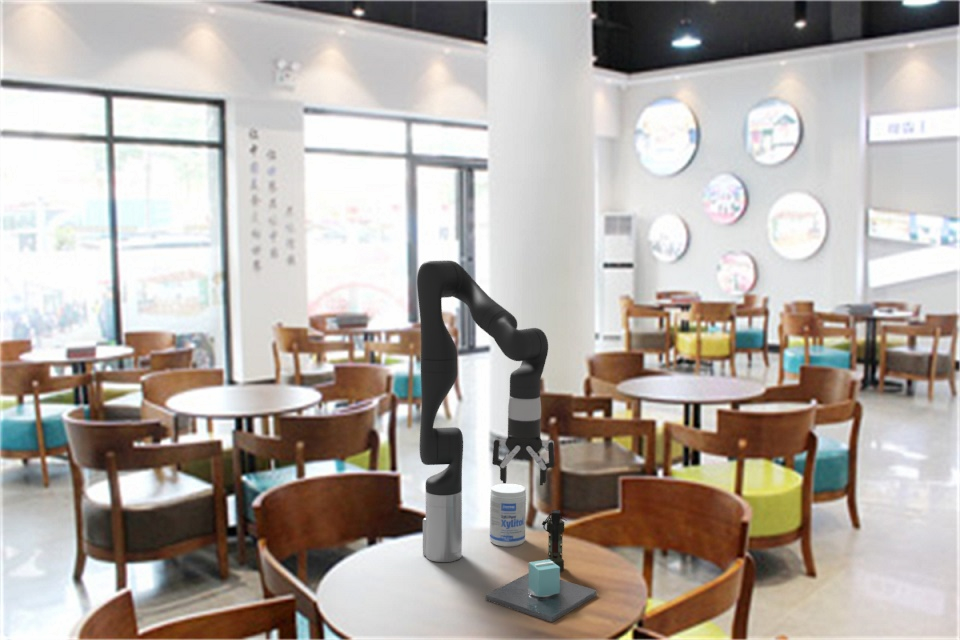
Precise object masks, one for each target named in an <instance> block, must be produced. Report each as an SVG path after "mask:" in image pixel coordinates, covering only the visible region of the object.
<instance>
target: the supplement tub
mask: <svg viewBox="0 0 960 640" xmlns="http://www.w3.org/2000/svg"><path fill="white" fill-rule="evenodd" d="M526 489H527V488H526V487H525V486H523V485H520V484H517V483H516V484H515V483H499V484H498V483H497V484H495V485H493V486H491V488H490V496H489V497H490V500H489V501H490V504H489V506H490V507H489V513H490V514H489V541H490V542H491V543H492V544H493V545H496V546H498V547H507V548H508V547H513V548H514V547H517V546H520V545H522V544H524V543H525V540H526V518H527V517H526V514H527V512H526V511H527V510H526V509H527V503H526V502H527V493H526Z"/></svg>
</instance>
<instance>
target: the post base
mask: <svg viewBox="0 0 960 640" xmlns="http://www.w3.org/2000/svg"><path fill="white" fill-rule="evenodd" d="M597 591H598V590H596V589H593V588H590V587H587V586H584V585H582V584H581V585H580V584H577V583H573V582H570V581H566V580H564V579H561V578H560V593H558V594H552V595H546V596H540V597H538V596H537V595H536V594H535V593H534V592H533V591H532V590H530V589H529V572H528V573H527V574H524V575H522V576H520V577H518V578H516V579H513V580H512V581H510V582H508V583H506V584H504V585H502V586H500V587H498V588H496V589H495V590H492V591H490V592H488V593H486V594H485V600H486V599H487V600H486V601H488V600H490V601H489V602H491V601H492V602H491V603H493V602H495V603H494V604H496V603H498V604H497V605H499V604H500V606H502V605H503V607H505V606H506V608H508V607H510V608H509V609H511V608H512V609H511V610H514V609H515V611H517V610H518V612H521V613H523V614H526V615H529V616H531V617H535V618H538V619H541V620H544V621H547V622H550V623H553V622H555V621H557V620H558V619H560V618H562V617H564V616H565V615H567V614H569V613H570V612H571V611H573V610H575V609H576V608H578V607H580V606H581V605H583V604H585V603H587V602H588V601H590V600H592V599H594V598H595V597H597V596H598V595H597V594H598V592H597Z"/></svg>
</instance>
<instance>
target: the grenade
mask: <svg viewBox="0 0 960 640" xmlns="http://www.w3.org/2000/svg"><path fill="white" fill-rule="evenodd" d="M561 519H562V520H561ZM565 521H566V522H568V521H567V519H565V518H563V512H562V511H561V510H560V509H551V513H549V514H548V516H547V517H546V519H545V520H543V521H542V523H541V525H542V526H543V527H542V528H543V530H544V531H545V532H547V533H548V541H547V542H548V545H547V546H548V549H547V551H548V554H547V556H548V557H547V559H546V560H548V559H550V560H551V561H553V562H554V563H555V564H556V565H558V566H559V567H560V573H561V572H564V570H565V568H564V567H565V560H564V559H563V534H564V532H565ZM545 527H546V528H545Z"/></svg>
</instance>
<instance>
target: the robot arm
mask: <svg viewBox="0 0 960 640" xmlns="http://www.w3.org/2000/svg"><path fill="white" fill-rule="evenodd" d="M416 286H417V287H416V289H417V298H418V299H417V300H418V308H419V310H418V311H419V318H420V319H419V320H420V385H421V386H420V387H421V388H420V392H421V404H420V405H421V409H420V411H421V412H420V425H419V426H420V429H419V431H420V432H419V457H420V461H421V462H422V464H423V465H426V466H434V465H435V466H437V465H447V467H446V468H445V469H444V470H442V471H440V472H439V473H436V474H434V475H431V476H429V477H427V479H426V481H425V517H424V518H423V519H422V555H423V556H424V557H425V558H426V559H427V560H429V561H432V562H437V563H450V562H451V563H452V562H455V561H458V560H459V559H461V558H462V556H463V555H462V554H463V551H462V550H463V549H462V548H463V476H462V475H463V459H464V456H463V455H464V437H463V432H462V430H461V429H460V428H459V427H455V426H454V427H434V423H435V419H436V417H437V414H438V411H439V410H440V407H441V405H443V404H442V403H443V402H444V400H445V398H447V396H448V394H449V393H450V392H451V390H452V388H453V387H454V385H455V383H456V381H457V377H458V350H457V346H456V344H455V342H454V341H455V340H454V339H453V338H452V336H451V334H450V332H449V329H448V327H447V326H446V324H445V321H444V318H443V309H442V308H443V307H442V300H443V298H444V299H445V298H455V299H456V300H459V301H461V302H462V303H464V304H465V305H466V306H467V307H468V309H469V311H470V313H469V314H470V315H471V317H472V320H473V321H474V323H475V324H476V325H477V326H478V327H479V328H480V329H481V330H482V331H484V332H485V333H487V334H488V336H490V337H492V338H493V341H495V343H496V345H497V346H498V348H499V349H500V351H501V352H502V353H503V355H504V356H505V357H507V358H508V359H510V360H512V361H514V362H521V363H520V366H519V368H517V369H515V370H514V371H512V372H511V373H510V377H509V399H508V406H507V407H508V408H507V414H508V415H507V438H506V439H503V438H500V437H498V436H497V437H495V438H494V440H493V450H492V464H493V465H494V466H498V467H499V469H500V470H499V480H500V481H501V482H502V484H507V480H508V477H507V475H508V471H507V470H508V464H509V463H510V462H511V461H512V460H513V458H515V459H516V460H522V459H524V460H531V459H533V460H534V462H535V463H536V464H538V466H539V467H540V469H539V486H543V485H544V484H546V482H547V470H548V469H553V468H554V467H555V462H556V461H555V458H556V457H555V441H554V440H553V439H549V440H547V441H546V440H545V441H544V440H542V437H541V433H542V431H541V430H542V429H541V425H542V423H541V422H542V403H541V379H542V376H543V375H542V374H543V372H544V369H545V365H546V362H547V357H548V353H549V342H548V336H546V334H545V332H544V331H543V330H542V329H540V328H537V327H530V328H529V327H528V328H525V329H524V328H523V329H518V320H517V318H516V317H515V316H514V314H512V313H511V312H510V311H508V310H507V309H506V308H505V307H503V306H502V305H500V304H499V302H496V301H495V300H494V299H493V298H492V297H491V296H489V294H487V293H486V292H485V291H484V290H483V288H481V286H480V285H479V284H478V283H477V282H476V280H475V279H473V277H472V276H471V275H470V274H469V273H468V272H467V270H465V269H464V268H463V266H461V264H459V262H456V261H453V260H428V261H424V262H423V263H422V264H421V265H420V266H419V268H418V272H417V276H416ZM504 445H505V447H506V448H507V449H508V452H507V453H506V455H505V456H504V457H503V458H502V459H501V458H499V457H500V456H499V455H500V450H501V449H503V447H504ZM543 447H544V450H545V451H546V452H548V460H547V461H545V459H544V458H543V456H542V454H541V453H540V452H539V451H540V450H541V449H542V448H543Z"/></svg>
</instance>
